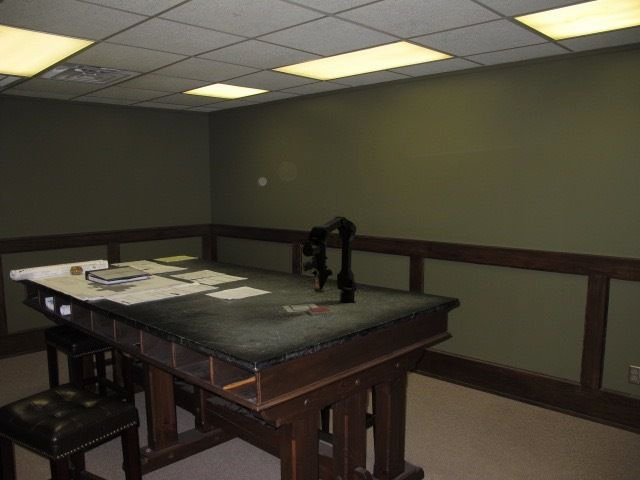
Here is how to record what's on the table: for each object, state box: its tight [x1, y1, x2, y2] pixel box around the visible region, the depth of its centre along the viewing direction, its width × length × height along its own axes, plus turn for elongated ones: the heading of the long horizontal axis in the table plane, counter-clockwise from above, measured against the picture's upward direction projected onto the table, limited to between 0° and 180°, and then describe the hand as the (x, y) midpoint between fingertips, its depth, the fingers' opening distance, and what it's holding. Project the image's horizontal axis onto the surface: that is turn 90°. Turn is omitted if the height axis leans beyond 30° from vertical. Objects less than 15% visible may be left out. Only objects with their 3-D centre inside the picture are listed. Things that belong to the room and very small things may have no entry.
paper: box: [281, 303, 320, 314], centre depth 240 cm, size 16×12×1 cm
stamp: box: [313, 277, 326, 294], centre depth 231 cm, size 5×5×8 cm
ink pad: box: [306, 306, 334, 316], centre depth 233 cm, size 10×8×2 cm
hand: (319, 288), depth 231 cm, fingers closed on stamp, 4 cm apart
